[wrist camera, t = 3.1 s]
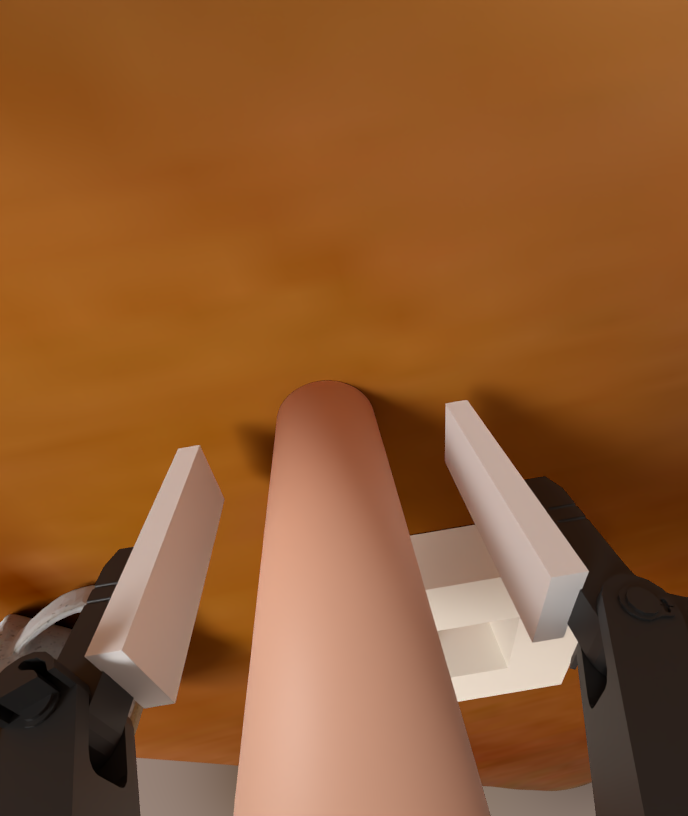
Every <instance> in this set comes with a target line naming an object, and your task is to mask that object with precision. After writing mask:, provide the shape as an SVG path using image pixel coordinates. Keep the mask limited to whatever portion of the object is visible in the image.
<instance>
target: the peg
mask: <svg viewBox="0 0 688 816" xmlns="http://www.w3.org/2000/svg"><path fill="white" fill-rule="evenodd" d="M233 816H491V815H490V812H489V808H488V805H487V801H486V798H485V794H484V791H483V787H482V784H481V781H480V777H479V774H478V770H477V767H476V763H475V760H474V756H473V753H472V749H471V746H470V742H469V739H468V736H467V732H466V729H465V725H464V722H463V718H462V715H461V711H460V708H459V704H458V701H457V698H456V694H455V691H454V687H453V684H452V680H451V677H450V673H449V670H448V666H447V663H446V659H445V656H444V653H443V649H442V646H441V642H440V639H439V635H438V632H437V628H436V625H435V621H434V618H433V614H432V611H431V608H430V604H429V601H428V597H427V594H426V590H425V587H424V583H423V580H422V576H421V573H420V570H419V566H418V563H417V559H416V556H415V552H414V549H413V545H412V542H411V538H410V535H409V531H408V528H407V525H406V521H405V518H404V514H403V511H402V507H401V504H400V500H399V497H398V493H397V490H396V486H395V483H394V480H393V476H392V473H391V469H390V466H389V462H388V459H387V455H386V452H385V448H384V445H383V442H382V438H381V435H380V431H379V428H378V424H377V421H376V417H375V414H374V410H373V408H372V405H371V403H370V402H369V400H368V399H367V397H366V396H365V395H364V394H363V393H362V392H361V391H359V390H358V389H356V388H355V387H353V386H351V385H348V384H346V383H342V382H338V381H317V382H313V383H309V384H306V385H304V386H302V387H300V388H298V389H296V390H295V391H293V392H292V393H291V394H290V395H289V396H288V397H287V398H286V399H285V400H284V402H283V403H282V405H281V407H280V409H279V411H278V415H277V423H276V432H275V441H274V450H273V459H272V468H271V477H270V486H269V495H268V505H267V514H266V523H265V532H264V541H263V550H262V559H261V568H260V577H259V586H258V596H257V605H256V614H255V623H254V632H253V641H252V650H251V659H250V668H249V678H248V687H247V696H246V705H245V714H244V723H243V732H242V741H241V750H240V759H239V769H238V778H237V787H236V797H235V805H234V814H233Z"/></svg>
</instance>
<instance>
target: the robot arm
mask: <svg viewBox="0 0 688 816" xmlns="http://www.w3.org/2000/svg"><path fill="white" fill-rule="evenodd" d="M445 463H446V465H447V467H448V469H449V471H450V473H451V475H452V478H453V480H454V482H455V484H456V486H457V488H458V490H459V492H460V494H461V496H462V498H463V500H464V502H465V504H466V506H467V509H468V511H469V513H470V515H471V517H472V519H473V521H474V523H475V525H476V527H477V529H478V531H479V533H480V535H481V537H482V540H483V542H484V544H485V546H486V548H487V550H488V552H489V554H490V556H491V558H492V560H493V562H494V564H495V566H496V568H497V571H498V573H499V575H500V577H501V579H502V581H503V583H504V585H505V587H506V589H507V591H508V593H509V595H510V597H511V599H512V602H513V604H514V606H515V608H516V610H517V612H518V614H519V616H520V618H521V620H522V622H523V624H524V626H525V628H526V630H527V633H528V635H529V637H530V639H531V641H532V643H534V642H540V641H546V640H552V639H558V638H564V635H565V632H566V630H567V627H568V626H569V628H570V629H571V631H572V633H573V634H574V636H575V638H576V640H577V641H578V643H577V646H576V648H575V650H574V652H573V655H572V657H571V663H570V668H571V669H576V667H577V665H578V671H579V679H580V688H581V696H582V704H583V712H584V720H585V729H586V737H587V745H588V753H589V762H590V770H591V778H592V786H593V794H594V803H595V811H596V816H688V597H682V596H677V595H673V594H669V593H666V592H665V591H664V590H663V589H662V588H660V587H659V586H657V585H655V584H654V583H652V582H650V581H649V580H647V579H644V578H641V577H638V576H636V575H634V574H633V573H632V572H631V571H630V569H629V568H628V567H627V566H626V565H625V564H624V563H623V561H622V560H621V559H620V558H619V557H618V555H617V554H616V553H615V552H614V550H613V549H612V548H611V547H610V546H609V544H608V543H607V542H606V541H605V539H604V538H603V537H602V536H601V534H600V533H599V532H598V531H597V530H596V528H595V527H594V526H593V525H592V523H591V522H590V521H589V520H588V519H586V518H585V515H584V514H583V512H582V511H581V510H580V509H579V507H578V506H575V503H574V501H573V500H572V499H571V498H570V496H569V495H568V494H567V493H566V492H565V490H564V489H563V488H562V487H560V486H559V485H557V484H556V483H554V482H553V481H551V480H550V479H548V478H547V477H545V476H544V477H538V478H532V479H526V480H524V479H523V478H522V476H521V475H520V474H519V472H518V471H517V469H516V468H515V467H514V465H513V464H512V462H511V461H510V460H509V458H508V457H507V455H506V454H505V453H504V451H503V450H502V448H501V447H500V445H499V444H498V443H497V441H496V440H495V438H494V437H493V436H492V434H491V433H490V431H489V430H488V429H487V427H486V426H485V424H484V423H483V422H482V420H481V419H480V417H479V416H478V415H477V413H476V412H475V410H474V409H473V408H472V406H471V405H470V403H469V402H468V400H463V401H457V402H451V403H446V414H445ZM223 503H224V497H223V495H222V493H221V490H220V488H219V486H218V484H217V482H216V480H215V477H214V475H213V473H212V471H211V469H210V467H209V464H208V462H207V460H206V458H205V456H204V453H203V451H202V449H201V447H200V445H198V446H192V447H186V448H180V449H178V450H177V453H176V455H175V457H174V459H173V462H172V464H171V466H170V468H169V470H168V473H167V475H166V477H165V479H164V481H163V484H162V486H161V488H160V490H159V492H158V495H157V497H156V499H155V501H154V504H153V506H152V508H151V510H150V512H149V515H148V517H147V519H146V521H145V523H144V526H143V528H142V530H141V532H140V535H139V537H138V539H137V541H136V543H135V546H134V547H130V548H125V549H119V550H118V551H117V552H116V554H115V555H114V556H113V557H112V558H111V559H110V560H109V562H108V563H107V564H106V565H105V566H104V568H103V569H102V571H101V573H100V575H99V577H98V579H97V581H96V583H95V585H94V586H95V588H94V589H92V591H91V593H90V595H89V597H88V599H87V604H86V605H84V607H83V609H82V611H81V613H80V615H79V617H78V619H77V621H76V623H75V625H74V627H73V629H72V631H71V633H70V635H69V637H68V639H67V641H66V643H65V645H64V647H63V649H62V651H61V653H60V655H59V657H58V659H57V660H56V659H55V658H53V657H52V656H51V655H50V654H48V653H47V652H33V653H30V654H28V655H25V656H22V657H20V658H19V659H17V660H16V661H14V662H13V663H11V664H10V665H8V666H7V667H5V668H4V669H3V670H2V671H1V672H0V816H140V805H139V791H138V779H137V765H136V751H135V737H134V727H133V724H132V721H131V719H130V718H129V717H128V714H129V711H130V708H131V705H132V702H133V699H134V700H135V701H136V702H137V703H138V704H140V705H141V706H142V707H143V708H149V707H155V706H161V705H167V704H173V703H175V702H176V697H177V693H178V689H179V685H180V681H181V677H182V673H183V668H184V664H185V660H186V656H187V652H188V648H189V644H190V640H191V635H192V631H193V627H194V623H195V619H196V615H197V611H198V606H199V602H200V598H201V594H202V590H203V586H204V582H205V578H206V573H207V569H208V565H209V561H210V557H211V553H212V549H213V545H214V540H215V536H216V532H217V528H218V524H219V520H220V516H221V511H222V507H223Z"/></svg>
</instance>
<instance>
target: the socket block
mask: <svg viewBox="0 0 688 816" xmlns="http://www.w3.org/2000/svg"><path fill="white" fill-rule="evenodd" d="M410 538H411V542H412V545H413V549H414V552H415V556H416V559H417V563H418V566H419V570H420V573H421V576H422V580H423V583H424V587H425V590H426V594H427V597H428V601H429V604H430V608H431V611H432V614H433V618H434V621H435V625H436V628H437V632H438V635H439V639H440V642H441V646H442V649H443V653H444V656H445V659H446V663H447V666H448V670H449V673H450V677H451V680H452V684H453V687H454V691H455V694H456V698H457V701H458V702H459V701H465V700H471V699H476V698H482V697H488V696H494V695H500V694H506V693H512V692H518V691H524V690H530V689H536V688H542V687H547V686H553V685H559V684H561V683H562V681H563V678H564V676H565V674H566V672H567V669H568V667H569V665H570V662H571V657H572V655H573V652H574V650H575V648H576V646H577V643H578V641H577V640H576V638H575V636H574V634H573V633H572V631H571V629H570V628H569V626H568V627H567V630H566V632H565V635H564V638H558V639H552V640H546V641H540V642H534V643H532V641H531V639H530V637H529V635H528V633H527V630H526V628H525V626H524V624H523V622H522V620H521V618H520V616H519V614H518V612H517V610H516V608H515V606H514V604H513V602H512V599H511V597H510V595H509V593H508V591H507V589H506V587H505V585H504V583H503V581H502V579H501V577H500V575H499V573H498V571H497V568H496V566H495V564H494V562H493V560H492V558H491V556H490V554H489V552H488V550H487V548H486V546H485V544H484V542H483V540H482V537H481V535H480V533H479V531H478V529H477V527H476V525H470V526H464V527H458V528H452V529H446V530H441V531H435V532H429V533H423V534H417V535H411V536H410Z"/></svg>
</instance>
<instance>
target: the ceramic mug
mask: <svg viewBox="0 0 688 816" xmlns="http://www.w3.org/2000/svg"><path fill="white" fill-rule="evenodd" d="M94 588H95V586H94V585H90V586H86V587H82V588H79V589H75V590H72V591H70V592H69V593H66V594H64V595H62V596H60V597H59V598H57V599H55V600H54V601H53V602H52V603H50V604H49V605H48V606H46V607H45V608H44V609H42V610H41V611H40V612H39V613H38V614H37V615H36V616H35V617H34V618H28V617H24V616H20V615H16V614H9V615H8V616H6V617H5V618H4V620H3V621H1V623H0V672H1V671H2V670H3V669H4V668H5V667H7V666H8V665H10V664H11V663H13V662H14V661H16V660H17V659H19V658H20V657H22V656H25V655H28V654H30V653H33V652H47V653H48V654H50V655H51V656H52V657H53V658H55V659H56V660H57V659H58V657H59V655H60V653H61V651H62V649H63V647H64V645H65V643H66V641H67V639H68V637H69V635H70V633H71V631H72V629H70V628H66V627H62V626H58V625H54V623H55V622H57V621H59V620H61V619H63V618H65V617H67V616H70V615H72V614H75V613H79V612H81V611H82V609H83V607H84V605H86V604H87V599H88V597H89V595H90V593H91V591H92V589H94ZM142 710H143V707H142V706H141V705H140V704H138V703H137V702H136V701H135V700H134V699H133V702H132V705H131V708H130V711H129V714H128V717H129V718H130V719H131V721H132V724H133V727H134V735H135V732H136V730H137V727H138V724H139V720H140V717H141V713H142Z"/></svg>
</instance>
